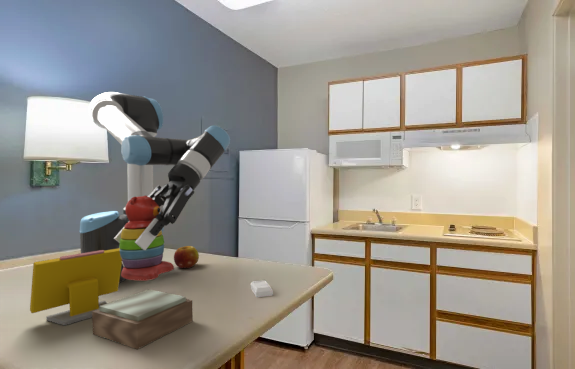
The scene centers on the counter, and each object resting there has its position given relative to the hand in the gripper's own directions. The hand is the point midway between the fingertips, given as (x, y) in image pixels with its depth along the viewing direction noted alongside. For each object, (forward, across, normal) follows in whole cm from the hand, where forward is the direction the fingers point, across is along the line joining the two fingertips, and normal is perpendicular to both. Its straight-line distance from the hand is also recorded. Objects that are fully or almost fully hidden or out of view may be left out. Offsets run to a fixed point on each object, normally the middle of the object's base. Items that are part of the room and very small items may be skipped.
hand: (129, 244), depth 75 cm
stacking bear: (+3, 0, -8) cm, 8 cm away
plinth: (+12, 0, -16) cm, 20 cm away
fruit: (-16, +41, -44) cm, 61 cm away
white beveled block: (-12, -4, -41) cm, 43 cm away
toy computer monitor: (+16, +21, -12) cm, 29 cm away
